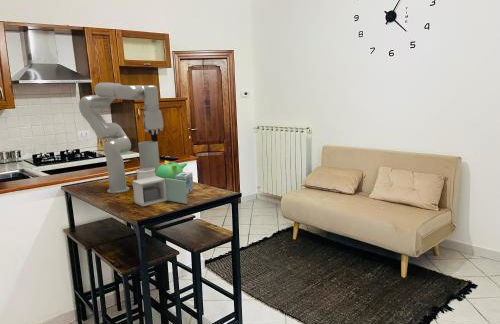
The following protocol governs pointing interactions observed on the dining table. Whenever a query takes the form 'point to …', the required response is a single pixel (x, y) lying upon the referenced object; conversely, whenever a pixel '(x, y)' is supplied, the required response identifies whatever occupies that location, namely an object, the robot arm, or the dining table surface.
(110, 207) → the dining table surface
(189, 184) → the light bulb box
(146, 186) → the housing
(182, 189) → the door
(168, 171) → the toy bird
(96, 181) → the dining table surface
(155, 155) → the cylinder vase
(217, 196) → the dining table surface
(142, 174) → the jar
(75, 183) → the dining table surface
